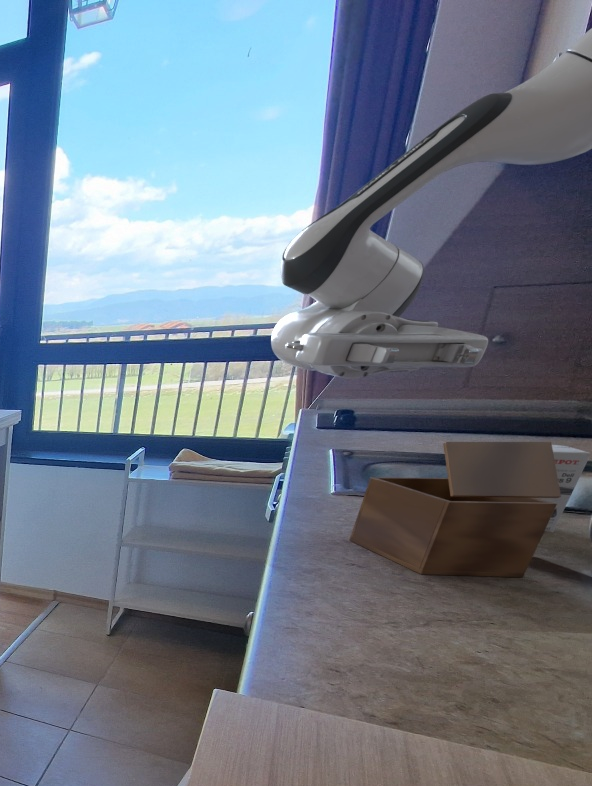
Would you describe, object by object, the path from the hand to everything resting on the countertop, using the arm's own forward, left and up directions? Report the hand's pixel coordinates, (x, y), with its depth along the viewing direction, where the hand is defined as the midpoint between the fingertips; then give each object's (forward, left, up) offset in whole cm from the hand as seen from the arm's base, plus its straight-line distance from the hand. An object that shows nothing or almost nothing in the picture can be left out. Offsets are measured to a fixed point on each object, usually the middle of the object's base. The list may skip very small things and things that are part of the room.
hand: (432, 356), depth 77 cm
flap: (0, +15, -11) cm, 19 cm away
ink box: (-15, 0, -23) cm, 27 cm away
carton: (0, +11, -23) cm, 25 cm away
